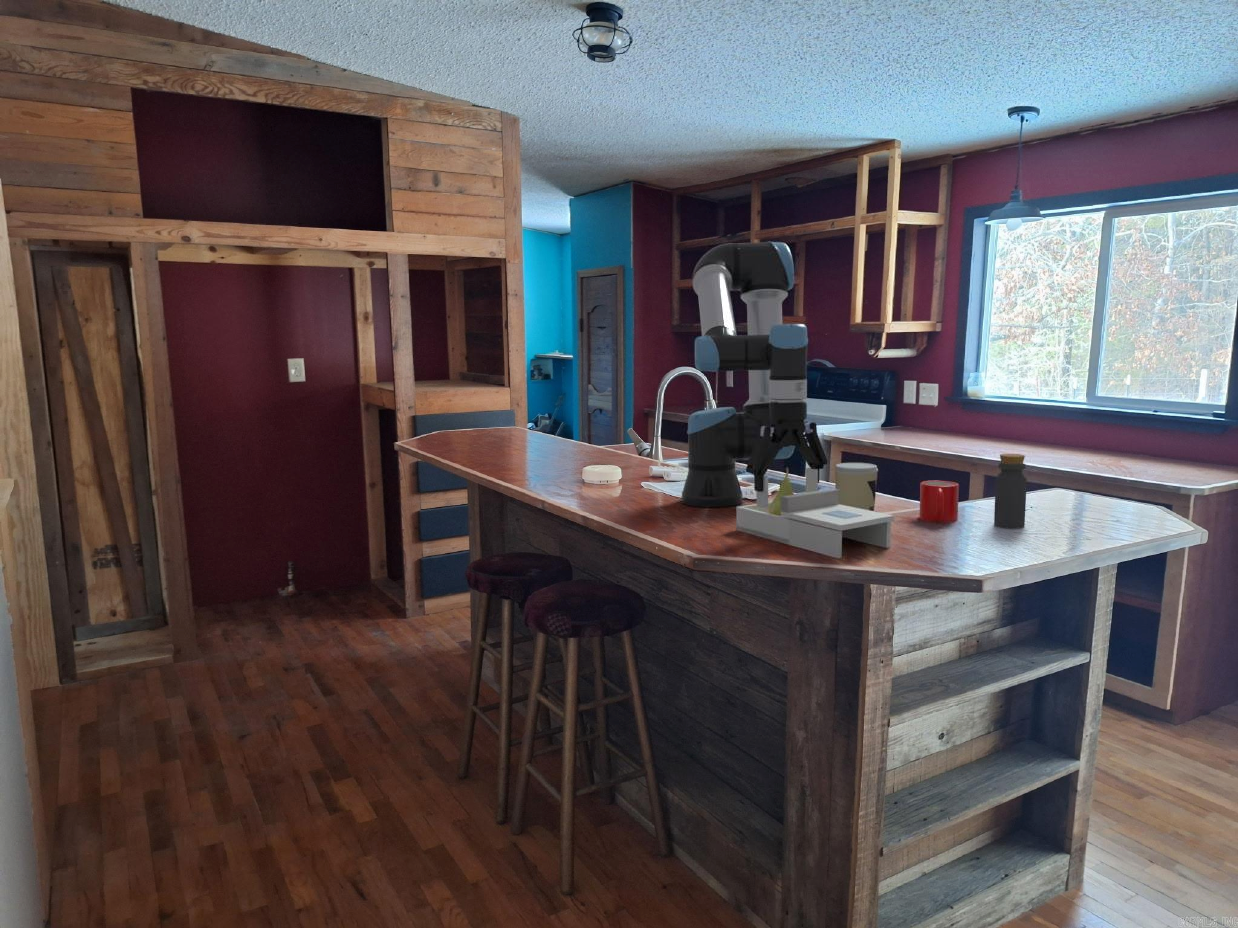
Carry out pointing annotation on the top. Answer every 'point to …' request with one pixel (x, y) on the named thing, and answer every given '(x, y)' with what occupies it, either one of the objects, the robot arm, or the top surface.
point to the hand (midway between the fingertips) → (787, 503)
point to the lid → (828, 511)
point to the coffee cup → (856, 484)
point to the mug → (939, 501)
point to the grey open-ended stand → (807, 531)
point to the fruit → (783, 491)
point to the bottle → (1010, 492)
